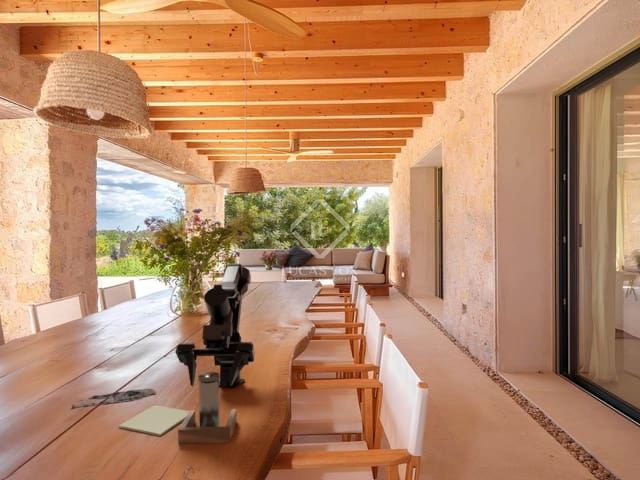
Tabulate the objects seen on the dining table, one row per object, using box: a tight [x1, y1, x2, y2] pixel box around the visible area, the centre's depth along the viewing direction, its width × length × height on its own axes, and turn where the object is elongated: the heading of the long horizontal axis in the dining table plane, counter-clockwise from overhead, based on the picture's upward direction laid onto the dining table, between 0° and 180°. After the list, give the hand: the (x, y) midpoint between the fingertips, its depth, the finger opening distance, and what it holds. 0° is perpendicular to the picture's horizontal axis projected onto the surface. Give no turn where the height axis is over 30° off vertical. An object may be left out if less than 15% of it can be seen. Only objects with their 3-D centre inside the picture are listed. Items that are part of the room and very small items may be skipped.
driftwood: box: [71, 388, 157, 408], centre depth 118 cm, size 21×7×2 cm, turn 108°
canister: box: [197, 371, 221, 427], centre depth 100 cm, size 5×5×13 cm
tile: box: [118, 404, 190, 437], centre depth 105 cm, size 12×12×1 cm
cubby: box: [177, 408, 238, 444], centre depth 99 cm, size 10×11×3 cm
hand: (211, 385), depth 102 cm, fingers open, 9 cm apart
